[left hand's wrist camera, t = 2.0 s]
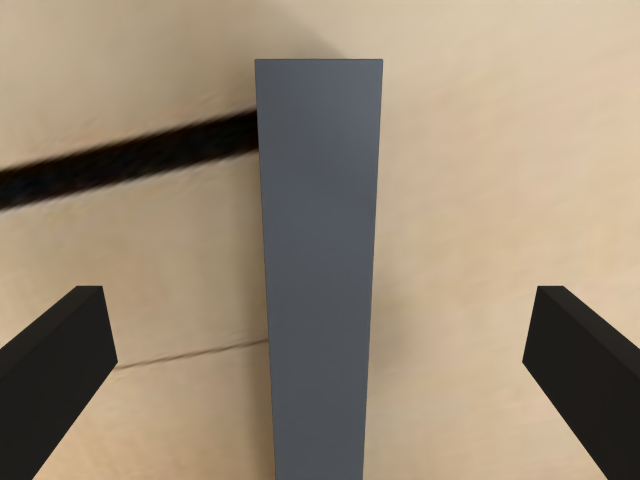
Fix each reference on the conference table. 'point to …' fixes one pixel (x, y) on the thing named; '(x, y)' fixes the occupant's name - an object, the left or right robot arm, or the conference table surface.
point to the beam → (318, 255)
